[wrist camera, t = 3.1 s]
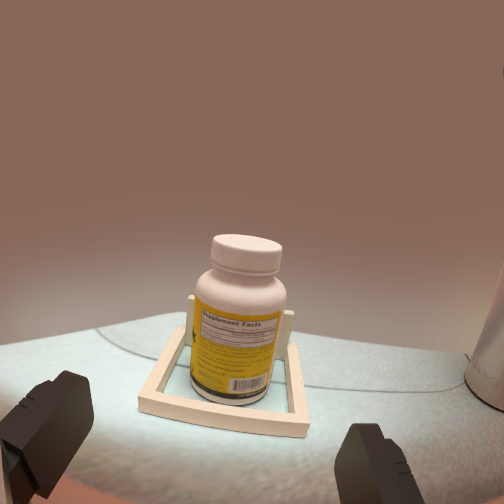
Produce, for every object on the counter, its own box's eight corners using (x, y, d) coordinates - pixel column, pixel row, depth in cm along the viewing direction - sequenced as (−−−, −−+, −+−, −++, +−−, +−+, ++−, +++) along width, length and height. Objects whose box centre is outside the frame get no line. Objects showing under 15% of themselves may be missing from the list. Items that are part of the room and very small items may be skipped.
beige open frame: (293, 356, 25) (303, 312, 24) (304, 437, 16) (323, 384, 15) (177, 338, 25) (180, 293, 24) (138, 411, 16) (136, 354, 15)
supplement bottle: (211, 354, 24) (227, 228, 22) (277, 376, 22) (305, 244, 20) (173, 387, 19) (183, 237, 17) (251, 419, 17) (281, 260, 15)
